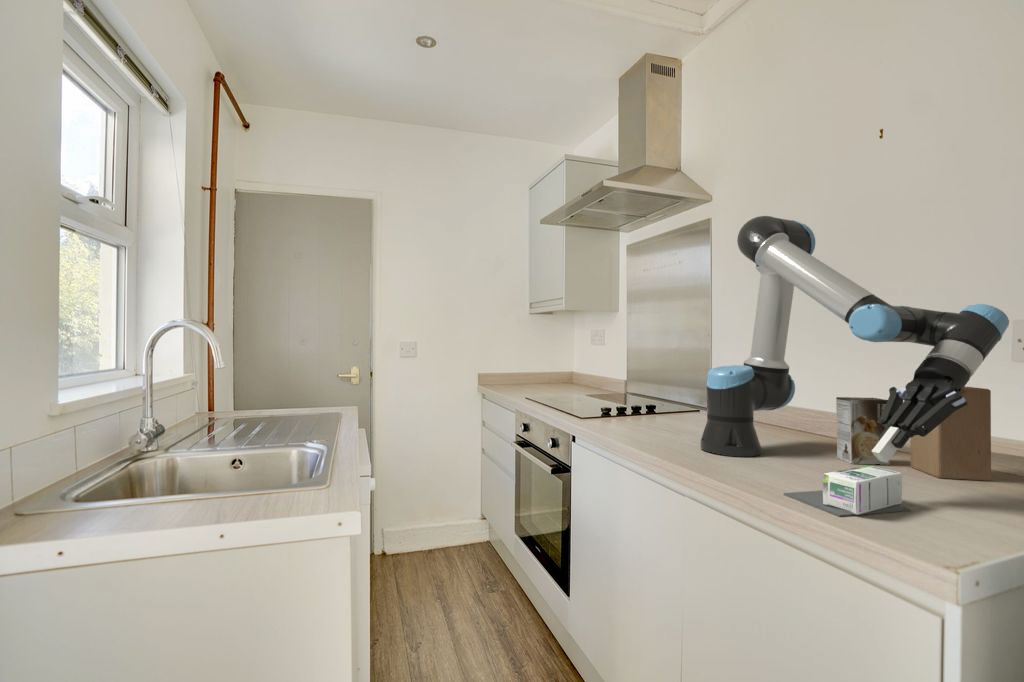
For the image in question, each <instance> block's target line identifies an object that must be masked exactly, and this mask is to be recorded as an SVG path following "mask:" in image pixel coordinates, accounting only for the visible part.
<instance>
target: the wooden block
mask: <svg viewBox="0 0 1024 682" xmlns="http://www.w3.org/2000/svg"><path fill="white" fill-rule="evenodd" d="M959 393H960V394H961V395H962V396H963V398H964V399H965V400H966V401H967V403H968V404H967V405H966V406H964V407H962V408H960V409H958V410H956V411H955V412H953V413H952V414H951V415H950V416H949V417H947V418H946V419H945V420H944V421H943V422H942V423H940V424H939V425H938V426H937V427H936V428H934V429H933V430H932V431H931V432H930V433H929V434H927V435H926V436H924V437H921V436H919V435H914V436H913V437H910V467H911V468H913V469H915V470H918V471H920V472H922V473H925V474H928V475H930V476H933V477H935V478H937V479H944V478H947V479H948V480H962V479H965V480H967V481H980V480H983V481H984V482H985V481H986V482H990V481H991V480H992V417H991V416H992V415H991V414H992V410H991V408H992V401H991V399H992V397H991V396H992V395H991V390H990V389H989V388H982V387H973V386H966V385H965V386H964V388H963V389H962V390H961V392H959ZM922 427H923V428H924V426H922ZM983 481H982V482H983Z"/></svg>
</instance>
